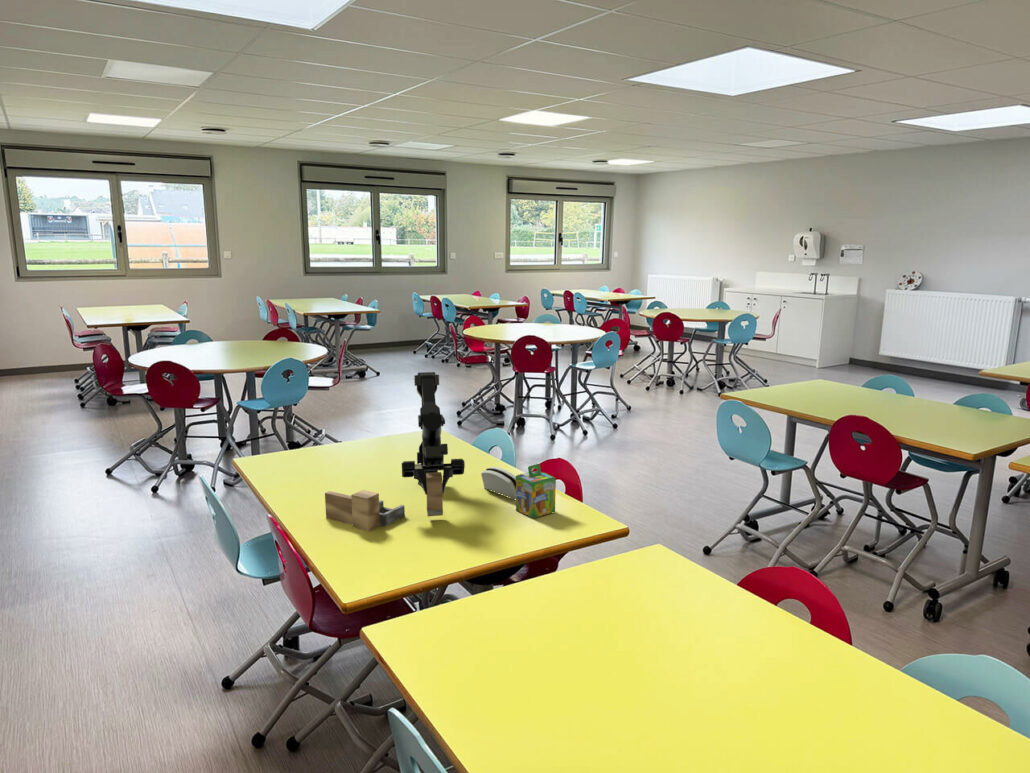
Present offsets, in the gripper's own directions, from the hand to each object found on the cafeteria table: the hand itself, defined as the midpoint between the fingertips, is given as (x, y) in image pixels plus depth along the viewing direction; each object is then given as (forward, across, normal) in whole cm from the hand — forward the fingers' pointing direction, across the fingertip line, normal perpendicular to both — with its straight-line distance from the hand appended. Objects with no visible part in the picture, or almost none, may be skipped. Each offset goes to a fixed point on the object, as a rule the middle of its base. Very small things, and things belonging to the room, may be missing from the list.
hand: (434, 493), depth 206 cm
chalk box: (+4, +31, +9) cm, 33 cm away
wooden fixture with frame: (+2, -21, +11) cm, 24 cm away
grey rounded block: (-8, +23, +22) cm, 33 cm away
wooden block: (+4, 0, +6) cm, 7 cm away
